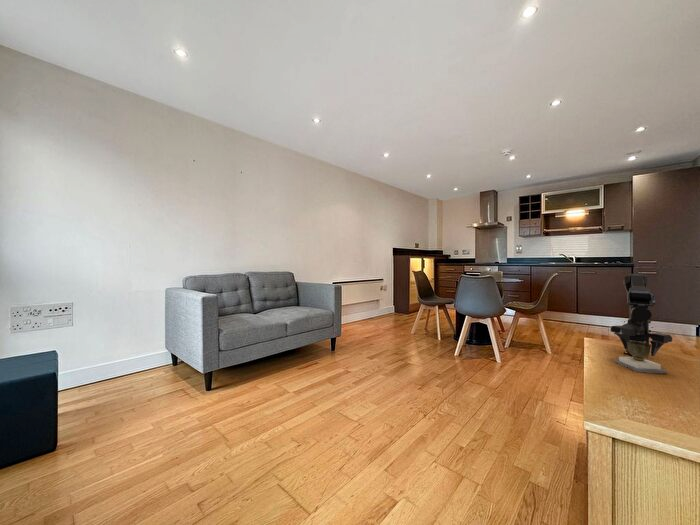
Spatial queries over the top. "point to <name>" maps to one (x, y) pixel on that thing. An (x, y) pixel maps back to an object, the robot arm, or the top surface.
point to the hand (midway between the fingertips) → (639, 352)
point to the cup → (638, 350)
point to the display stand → (640, 365)
